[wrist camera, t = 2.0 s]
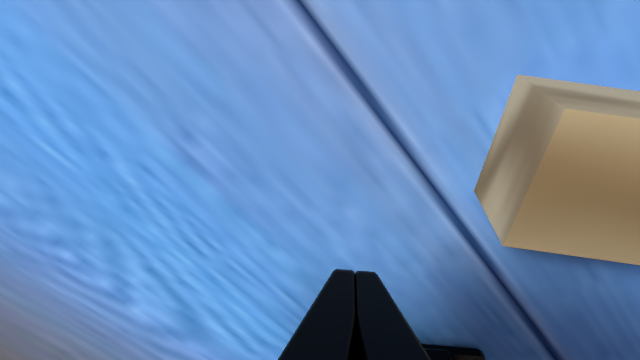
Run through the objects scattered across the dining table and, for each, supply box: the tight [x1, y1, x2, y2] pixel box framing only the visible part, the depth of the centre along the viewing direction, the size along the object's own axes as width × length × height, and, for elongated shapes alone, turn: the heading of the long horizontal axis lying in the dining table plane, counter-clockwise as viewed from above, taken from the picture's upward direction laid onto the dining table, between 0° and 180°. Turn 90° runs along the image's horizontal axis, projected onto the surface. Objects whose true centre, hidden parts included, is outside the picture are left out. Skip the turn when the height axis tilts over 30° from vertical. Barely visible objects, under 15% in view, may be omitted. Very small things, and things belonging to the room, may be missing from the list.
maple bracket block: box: [474, 75, 640, 265], centre depth 12 cm, size 4×6×4 cm
